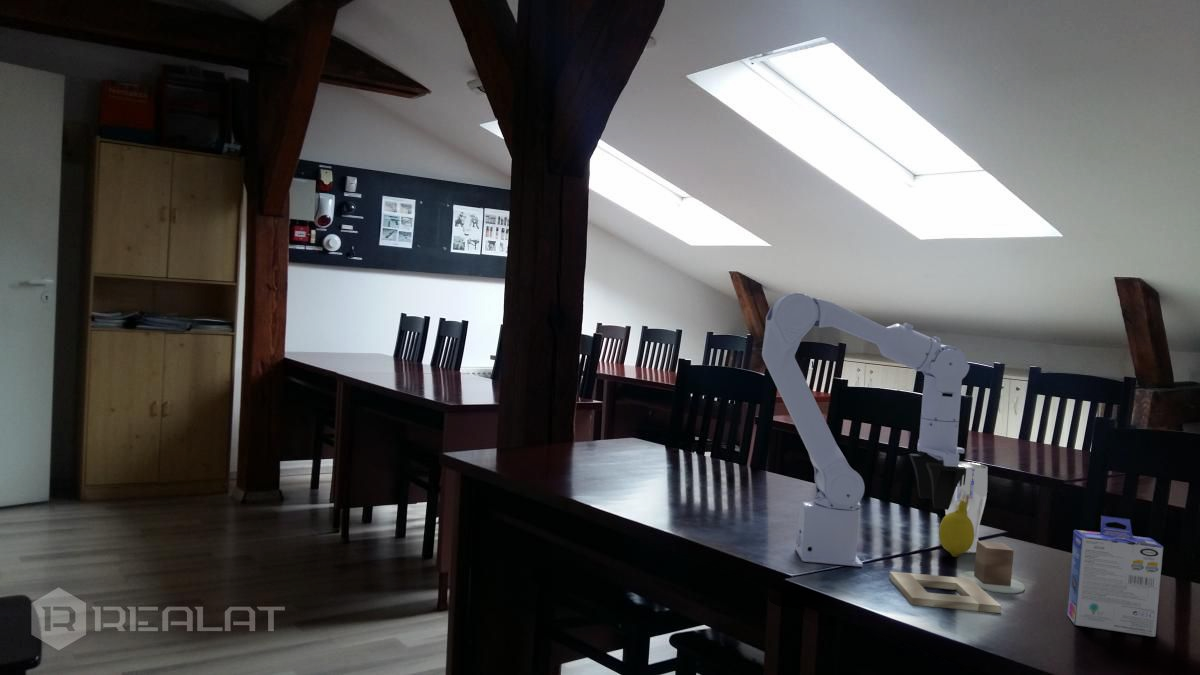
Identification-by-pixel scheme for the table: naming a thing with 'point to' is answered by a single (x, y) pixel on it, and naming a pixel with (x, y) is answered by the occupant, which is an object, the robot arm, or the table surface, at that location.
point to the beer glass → (971, 496)
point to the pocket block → (966, 587)
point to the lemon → (956, 533)
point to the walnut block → (993, 563)
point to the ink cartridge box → (1115, 580)
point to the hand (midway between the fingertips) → (933, 503)
